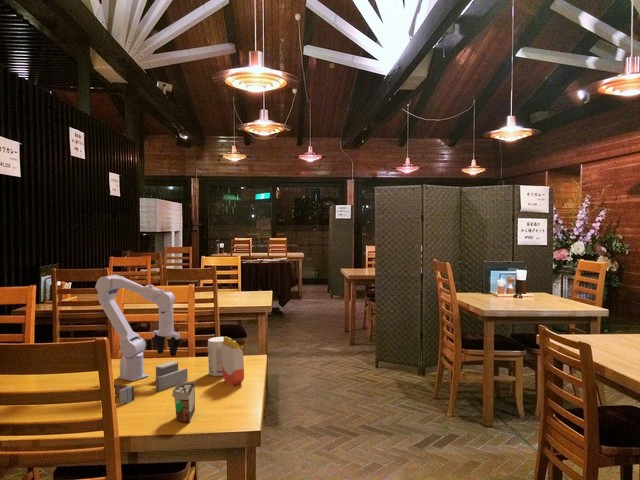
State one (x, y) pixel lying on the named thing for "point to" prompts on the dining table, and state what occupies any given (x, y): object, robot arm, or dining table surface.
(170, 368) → the block
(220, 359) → the supplement tub
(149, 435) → the dining table surface
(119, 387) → the door
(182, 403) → the food container
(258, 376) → the dining table surface
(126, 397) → the wall
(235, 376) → the french fries container
